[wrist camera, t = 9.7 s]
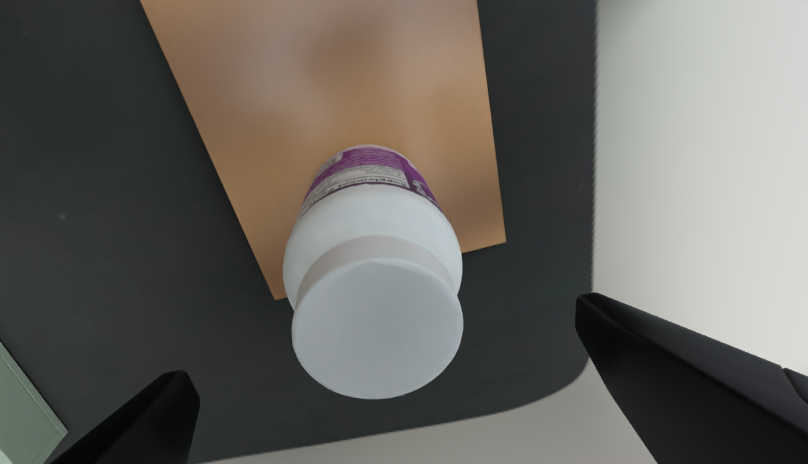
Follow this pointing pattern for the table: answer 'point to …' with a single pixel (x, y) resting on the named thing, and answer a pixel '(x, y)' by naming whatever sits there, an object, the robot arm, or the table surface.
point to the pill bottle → (373, 277)
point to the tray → (24, 418)
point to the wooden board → (334, 103)
